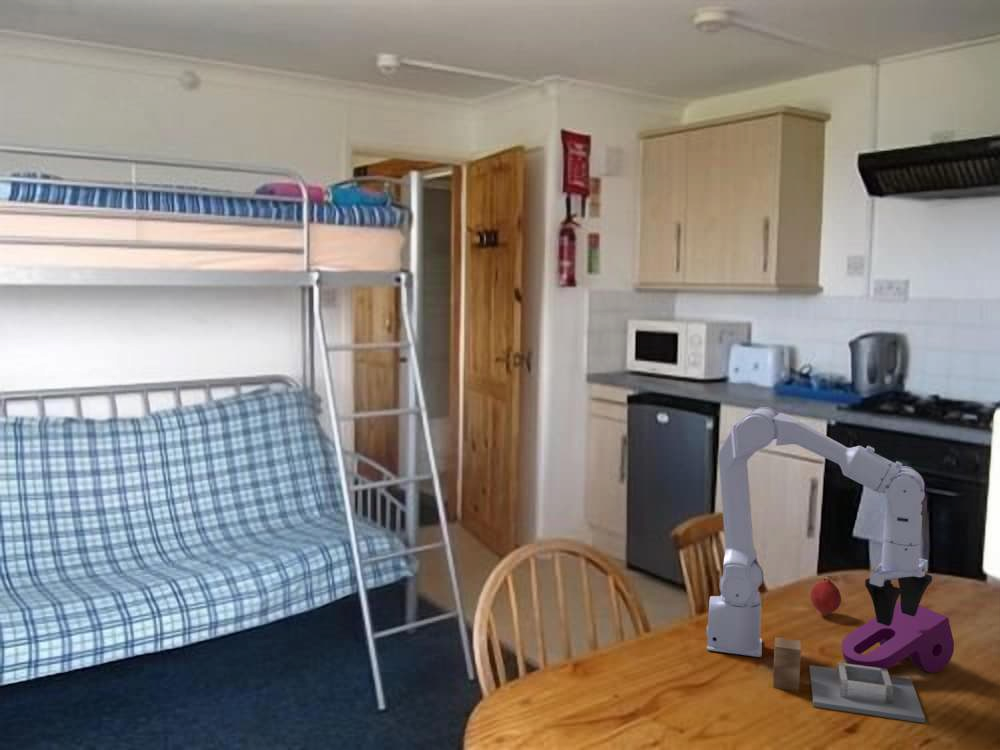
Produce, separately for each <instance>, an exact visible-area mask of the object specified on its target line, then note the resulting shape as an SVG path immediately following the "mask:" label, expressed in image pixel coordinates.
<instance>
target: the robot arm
mask: <svg viewBox="0 0 1000 750" xmlns="http://www.w3.org/2000/svg"><path fill="white" fill-rule="evenodd" d="M773 440H776V442H775V446H788V445H796V446H799V447H801V448H803V449H805V450H807V451H810V452H812V453H814V454H816V455H818V456H821V457H823V458H824V459H827V460H829V461H831V462H834V463H835V464H837V465H838V466H839V467H840V470H841V473H842V475H843V476H844V477H847V478H849V479H851V480H853V481H854V482H856V483H858V484H859V485H860V484H861V485H862V486H864V487H866V488H869V489H870V490H871V491H873V492H876V493H878V494H884V495H885V498H886V502H887V503H886V510H885V511H884V518H883V519H884V521H883V533H882V534H883V536H882V546H881V547H882V549H881V550H882V551H881V562H880V563H878V565H877V566H876V568H875V569H874V570H873V571H870V572H869V578H866V579H865V582H864V585H865V588H866V590H867V591H868V592H869V595H870V598H871V601H872V604H873V608H874V609H873V610H874V612H875V613H874V614H875V617H876V619H877V622H878V623H881V624H884V625H886V626H890V625H891V623H892V620H893V614H894V608H895V605H896V604H897V601H898V598H900V601H901V611H902V613H904V614H907V615H910V616H915V615H916V612H917V610H918V607H919V605H920V603H921V601H922V598H923V597H924V593H925V591H926V590H927V589H928V587H929V585H930V584H931V583H932V581H933V576H932V575H931V574H927V573H926V572H928V568H929V567H928V566H929V560H928V559H924V558H920V554H921V539H922V529H923V528H922V525H923V524H922V523H923V515H922V514H921V513H922V512H923V504H922V503H923V501H924V498H925V496H926V492H925V481H924V478H923V477H922V476H921V474H920V473H919V472H918V471H917V470H915V469H914V468H913V467H911V466H907V465H905V466H903V463H902V462H900V461H896V462H894V461H892V460H889V459H887V458H886V457H883V456H881V455H880V454H877V452H876V453H875V450H876V449H875V447H872V446H870V445H867V446H866V447H863V446H862V445H857V446H852V447H847V446H845V445H844V444H842V443H840V442H838V441H836V440H834V439H833V438H831V437H829V436H827V435H825V434H824V433H821V432H820V431H818V430H817V429H815V428H813V427H810V426H809V425H807V424H806V423H804V422H801V421H800V420H799V419H796V418H794V417H793V416H790V415H788V414H786V413H783V412H779V413H778V412H777V410H775V409H773V408H771V407H768V406H762V407H758V408H755V409H754V410H752V411H750V412H749V413H748V414H746V415H744V416H743V417H742V418H741V419H740V420H738V421H736V423H735V424H733V426H732V428H731V430H730V432H729V433H728V435H727V437H726V439H725V441H724V442H723V443H722V446H721V448H720V449H719V451H718V467H719V481H720V492H721V494H720V495H721V505H722V508H721V509H722V517H723V518H722V519H723V531H724V532H723V533H724V543H725V544H724V545H725V552H724V557H723V563H722V565H723V566H722V567H723V573H722V575H721V578H720V580H719V591H720V595H717V596H715V595H711V596H709V605H708V617H707V618H708V620H707V621H708V622H707V625H706V633H705V634H706V636H707V644H706V645H707V646H706V650H707V651H710V652H711V651H712V652H720V653H727V654H734V655H741V656H748V657H755V658H762V653H763V638H761V626H762V625H761V622H762V600H763V599H762V597H761V595H760V593H759V591H758V589H759V588H760V587H761V585H762V584H763V581H764V578H765V575H764V570H763V568H762V566H761V564H760V563H759V560H758V553H757V552H758V551H757V550H756V548H755V546H754V535H753V533H754V532H753V521H752V509H751V495H750V483H749V480H750V479H749V471H748V470H749V469H748V460H749V459H751V457H752V456H753V455H754V454H756V452H758V451H761V450H762V449H764V448H767V447H768V446H769V445H770V444H771V443H772V442H773ZM894 580H895V581H896V580H897V581H898V586H899V587H896V586H895V585H894V584H893V583H892V582H893V581H894ZM899 596H900V597H899Z"/></svg>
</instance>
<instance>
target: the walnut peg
mask: <svg viewBox="0 0 1000 750" xmlns="http://www.w3.org/2000/svg"><path fill="white" fill-rule="evenodd" d="M773 654H774V655H773V657H774V658H773V672H772V674H773V676H772V680H773V681H772V685H773V686H772V688H775V689H780V690H789V691H796V692H800V677H801V676H800V675H801V673H800V672H801V657H802V656H801V654H802V647H801V640H798V639H790V638H782V637H774V651H773Z"/></svg>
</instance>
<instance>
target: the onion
mask: <svg viewBox="0 0 1000 750" xmlns="http://www.w3.org/2000/svg"><path fill="white" fill-rule="evenodd" d="M809 597H810V602H811V604H812V606H813V607H814V608H815V609H816V610H817V612H819V613H820V614H821V615H822V616H826V617H827V616H829V615H830V614H832V613H835V611H837V609H839V607H840V606H841V602H842V595H841V592H840V590H839V588H838V587H837V586H836V584H834V582H832V581H831V579H830V578H829V577H827V576H825V577H823V578H822V580H821V581H819V582H817V583H816V584H815V585H814V586H813V588H812V589H811V591H810V595H809Z"/></svg>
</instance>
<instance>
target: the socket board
mask: <svg viewBox="0 0 1000 750" xmlns="http://www.w3.org/2000/svg"><path fill="white" fill-rule="evenodd" d="M888 671H889V670H888V669H884V668H876V667H869V666H861V665H854V664H847V663H846V662H837V668H832V667H825V666H817V665H809V678H810V687H811V690H810V691H811V698H812V707H814V708H820V709H825V710H832V711H833V710H835V711H840V712H848V713H854V714H855V713H856V714H860V715H868V716H875V717H881V718H886V719H887V718H888V719H894V720H895V719H896V720H902V721H907V722H915V723H922V724H925V723H926V718H925V714H924V711H923V709H922V708H923V707H922V706H921V704H920V703H921V702H920V700H919V697H918V694H917V692H916V689H915V686H914V684H913V681H912V678H906V677H900V676H899V677H898V676H891V675H890V673H889V672H888Z"/></svg>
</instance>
